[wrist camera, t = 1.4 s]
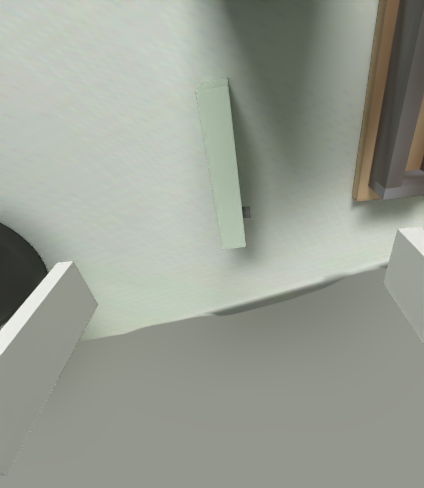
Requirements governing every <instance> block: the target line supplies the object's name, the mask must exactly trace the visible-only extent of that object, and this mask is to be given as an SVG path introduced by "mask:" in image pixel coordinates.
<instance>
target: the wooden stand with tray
mask: <svg viewBox="0 0 424 488" xmlns="http://www.w3.org/2000/svg"><path fill="white" fill-rule="evenodd" d="M421 195H424V0H379V6H378V13H377V20H376V28H375V35H374V42H373V49H372V56H371V64H370V71H369V78H368V85H367V92H366V100H365V107H364V114H363V121H362V128H361V136H360V143H359V150H358V157H357V164H356V171H355V179H354V186H353V193H352V197H353V198H354V199H355V200H356V201H366V200H374V199H383V200H387V199H396V198H404V197H413V196H421Z"/></svg>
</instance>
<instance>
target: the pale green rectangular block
mask: <svg viewBox="0 0 424 488" xmlns="http://www.w3.org/2000/svg"><path fill="white" fill-rule="evenodd" d="M195 92H196V98H197V104H198V110H199V115H200V121H201V127H202V133H203V139H204V144H205V150H206V156H207V162H208V168H209V173H210V179H211V185H212V191H213V197H214V202H215V208H216V214H217V220H218V225H219V231H220V237H221V243H222V249H232V248H241V247H246V242H245V232H244V222H243V218H250V217H251V215H250V207H242V202H241V193H240V184H239V175H238V166H237V157H236V148H235V139H234V130H233V121H232V112H231V103H230V94H229V85H228V78H226V79H221V80H215V81H210V82H205V83H203V84H202V85H201V86H200V87H199V88H198V89H197V90H196V91H195Z"/></svg>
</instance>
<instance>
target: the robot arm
mask: <svg viewBox="0 0 424 488" xmlns="http://www.w3.org/2000/svg"><path fill="white" fill-rule="evenodd" d="M383 284H384V285H385V287H386V288H387V290H388V291H389V293H390V294H391V296H392V297H393V299H394V300H395V302H396V303H397V305H398V306H399V308H400V309H401V311H402V312H403V314H404V315H405V317H406V318H407V319H408V321H409V323H410V324H411V326H412V327H413V329H414V330H415V332H416V333H417V334H418V336H419V338H420V339H421V340H422V342H423V343H424V230H423V229H422V228H421V227H411V228H401V229H397V233H396V237H395V241H394V244H393V248H392V252H391V256H390V260H389V264H388V268H387V272H386V275H385V279H384V283H383ZM97 306H98V303H97V302H96V300H95V298H94V296H93V295H92V293H91V291H90V289H89V288H88V286H87V284H86V282H85V281H84V279H83V277H82V275H81V274H80V272H79V270H78V268H77V267H76V265H75V263H74V261H70V262H60V263H57V264H56V265H55V266H54V267H53V269H52V270H51V271H50V272H49V273H48V275H46V270H45V267H44V265H43V263H42V261H41V259H40V257H39V256H38V255H37V253H36V252H35V251H34V249H33V248H32V247H31V246H30V245H29V244H28V243H27V242H26V241H25V240H24V239H23V238H22V237H20V236H19V235H18V234H17V233H15V232H14V231H12V230H11V229H9V228H8V227H6V226H5V225H3V224H1V223H0V327H1V326H3V325H4V324H5V326H4V327H3V328H2V329H1V330H0V475H5V476H6V475H7V474H8V472H9V470H10V468H11V466H12V464H13V463H14V461H15V459H16V457H17V455H18V453H19V451H20V450H21V448H22V446H23V444H24V442H25V440H26V438H27V437H28V435H29V433H30V431H31V429H32V427H33V425H34V424H35V422H36V420H37V418H38V416H39V414H40V412H41V410H42V409H43V407H44V405H45V403H46V401H47V399H48V397H49V396H50V394H51V392H52V390H53V388H54V386H55V384H56V383H57V381H58V378H59V377H60V375H61V373H62V371H63V369H64V368H65V365H66V364H67V362H68V360H69V358H70V356H71V355H72V353H73V351H74V349H75V347H76V345H77V343H78V341H79V340H80V338H81V336H82V334H83V332H84V330H85V328H86V327H87V325H88V323H89V321H90V319H91V317H92V315H93V314H94V312H95V310H96V308H97Z"/></svg>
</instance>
